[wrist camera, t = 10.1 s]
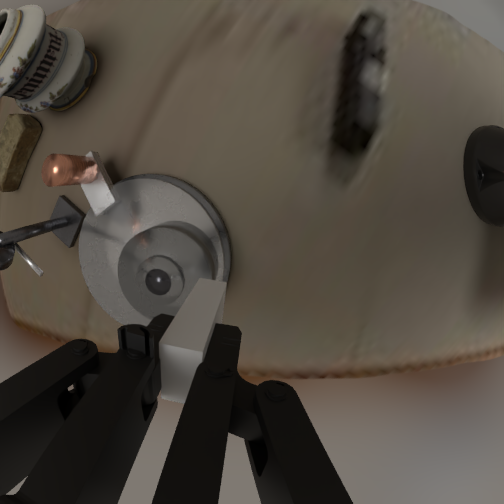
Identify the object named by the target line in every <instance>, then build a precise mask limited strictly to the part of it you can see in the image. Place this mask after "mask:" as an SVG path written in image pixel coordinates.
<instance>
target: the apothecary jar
mask: <svg viewBox="0 0 504 504" xmlns="http://www.w3.org/2000/svg"><path fill="white" fill-rule="evenodd" d="M96 69H97V60H96V57H95V55H94V53H93V52H91V51H90V50H86V49H85V43H84V39H83V37H82V35H81V34H80V33H79V32H78V31H77V30H75V29H73V28H59V29H54V28H52V27H50V26H49V25H47V24H46V15H45V12H44V10H43V9H42V8H41V7H39V6H37V5H27V6H23V7H21V8H19V9H17V10H13V9H9V8H6V9H3V10H1V11H0V97H2V96H3V95H4V96H8V97H12V98H15V101H16V103H17V105H18V106H19V107H20V108H21V109H22V110H24V111H26V112H31V113H33V112H39V111H42V110H45V109H47V108H48V107H49V108H51V109H52V110H55V111H62V110H65V109H68V108H70V107H71V106H73V105H74V104H75V103H77V102H78V101H79V100H80V99H81V98H82V97H83V96H84V94H85V93H86V92H87V90H88V89H89V85H90V81H91V79H92V77H93V76H94V75H95V74H96Z"/></svg>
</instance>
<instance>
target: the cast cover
mask: <svg viewBox="0 0 504 504" xmlns="http://www.w3.org/2000/svg"><path fill="white" fill-rule="evenodd" d="M218 267H219V263H218V256H217V252H216V249H215V247H214V245H213V243H212V241H211V240H210V238H209V237H208V236H207V235H206V234H205V233H204V232H203V231H202V230H201V229H199V228H198V227H196V226H194V225H192V224H190V223H187V222H183V221H175V220H174V221H167V222H163V223H160V224H158V225H156V226H153V227H151V228H149V229H147V230H144V231H142V232H140V233H138V234H136V235H135V236H133V237H132V238H131V239H130V240H129V241H128V242H127V243H126V245H125V246H124V248H123V249H122V252H121V254H120V257H119V261H118V280H119V284H120V287H121V290H122V292H123V294H124V296H125V298H126V299H127V301H128V302H129V303H130V305H131V306H132V307H133V308H134V309H135V310H136V311H138V312H139V313H140V314H142V315H143V316H145V317H146V318H148V319H150V320H152V319H153V318H154V317H155V316H157V315H159V314H161V313H163V314H167V315H172V316H176V314H177V313H178V311H179V309H180V308H181V306H182V305H183V303H184V302H185V300H186V298H187V297H188V295H189V294H190V292H191V291H192V289H193V288H194V286H195V284H196V283H197V281H198V280H199V278H203V279H209V280H215V281H216V278H217V275H218Z"/></svg>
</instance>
